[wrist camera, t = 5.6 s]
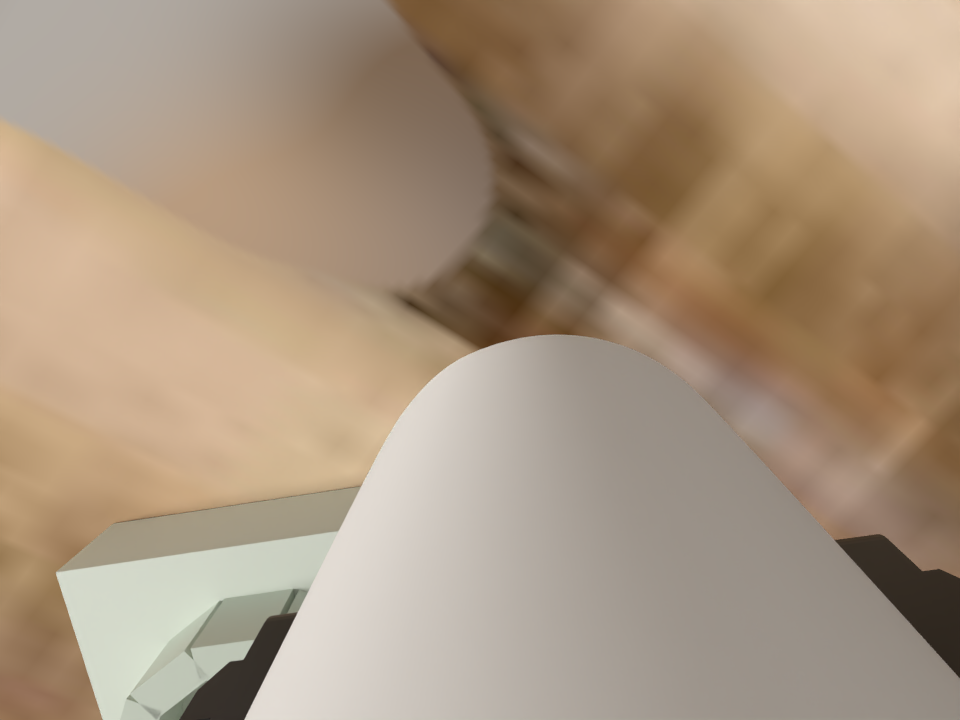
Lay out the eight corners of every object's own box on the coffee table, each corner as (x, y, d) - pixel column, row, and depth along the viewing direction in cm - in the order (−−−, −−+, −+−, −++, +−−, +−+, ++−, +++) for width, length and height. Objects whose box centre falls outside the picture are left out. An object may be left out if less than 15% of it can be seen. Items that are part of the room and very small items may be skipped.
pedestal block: (452, 472, 30) (435, 557, 23) (510, 774, 33) (510, 929, 26) (112, 523, 31) (0, 619, 24) (198, 812, 34) (120, 970, 27)
